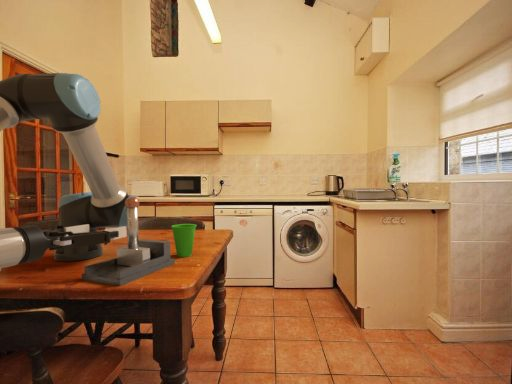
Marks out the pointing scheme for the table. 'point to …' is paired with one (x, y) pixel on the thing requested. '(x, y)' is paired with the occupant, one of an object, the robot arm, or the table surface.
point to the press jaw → (132, 238)
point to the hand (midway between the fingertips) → (106, 230)
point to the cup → (184, 238)
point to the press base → (122, 273)
